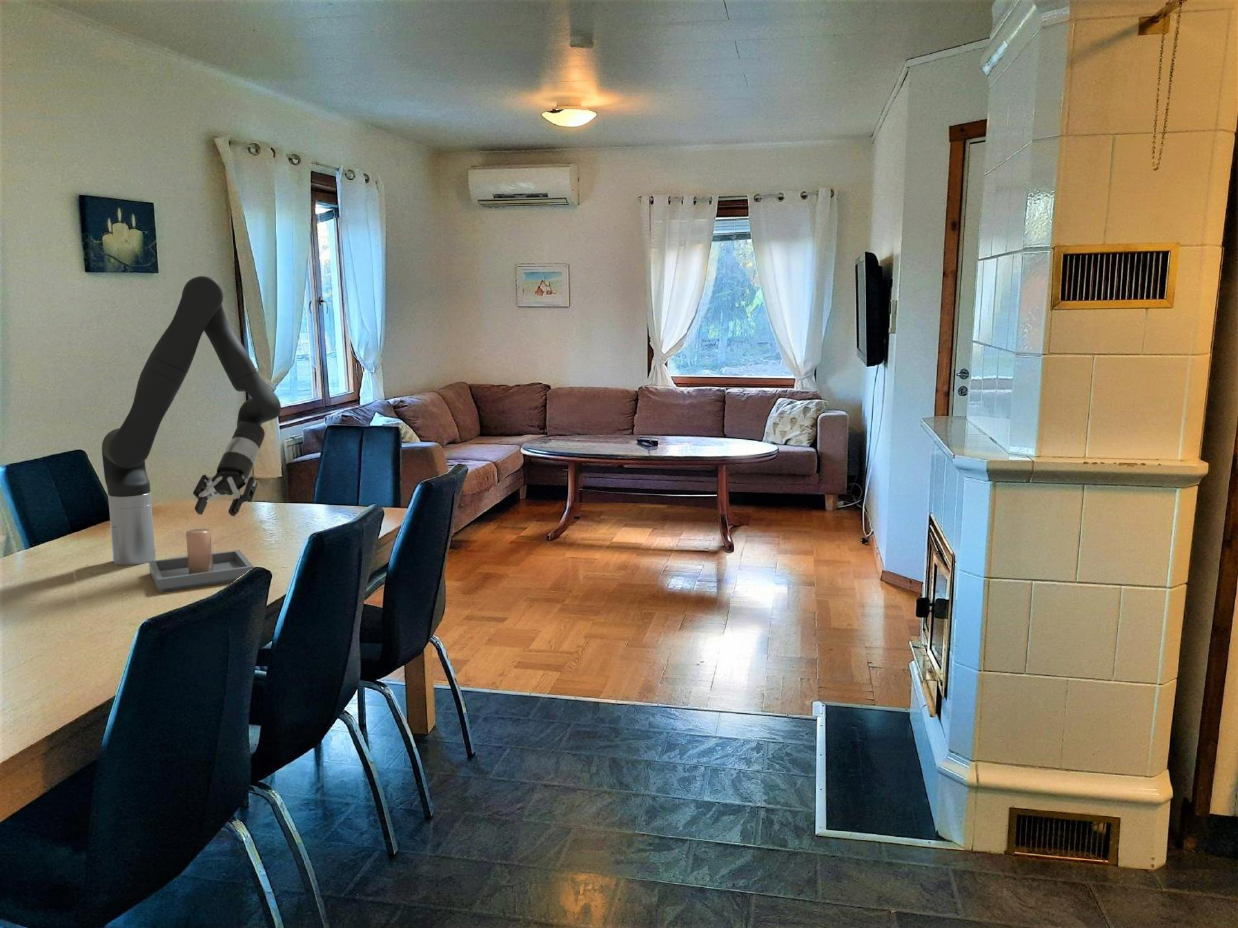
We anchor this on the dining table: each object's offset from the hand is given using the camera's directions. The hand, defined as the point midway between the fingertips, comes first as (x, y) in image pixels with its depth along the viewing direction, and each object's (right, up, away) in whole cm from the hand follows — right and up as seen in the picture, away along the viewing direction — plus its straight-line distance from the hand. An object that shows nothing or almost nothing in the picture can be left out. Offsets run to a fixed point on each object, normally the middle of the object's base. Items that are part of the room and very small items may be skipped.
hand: (214, 513), depth 211 cm
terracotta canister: (-1, -14, -5) cm, 15 cm away
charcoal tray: (-1, -14, -5) cm, 15 cm away
